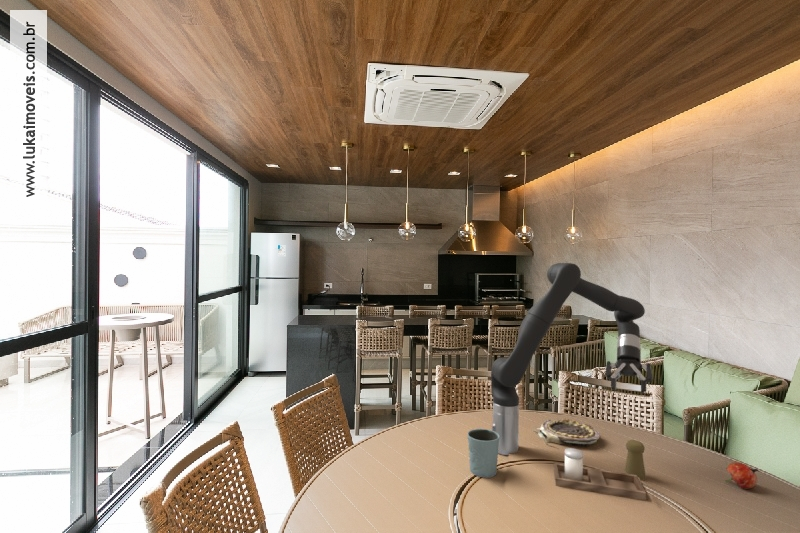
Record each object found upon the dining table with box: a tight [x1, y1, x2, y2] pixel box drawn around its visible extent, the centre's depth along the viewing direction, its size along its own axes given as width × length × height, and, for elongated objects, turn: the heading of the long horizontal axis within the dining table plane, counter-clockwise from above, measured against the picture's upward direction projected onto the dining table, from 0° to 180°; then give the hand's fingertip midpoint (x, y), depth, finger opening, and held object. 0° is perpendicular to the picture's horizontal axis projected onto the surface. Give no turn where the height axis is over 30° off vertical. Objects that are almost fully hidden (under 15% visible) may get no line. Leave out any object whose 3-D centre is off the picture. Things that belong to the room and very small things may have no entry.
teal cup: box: [467, 428, 499, 478], centre depth 132 cm, size 10×10×12 cm
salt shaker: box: [564, 447, 584, 481], centre depth 126 cm, size 5×5×9 cm
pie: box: [533, 418, 601, 450], centre depth 161 cm, size 28×27×5 cm
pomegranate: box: [724, 461, 760, 490], centre depth 126 cm, size 7×7×10 cm
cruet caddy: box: [553, 462, 647, 501], centre depth 124 cm, size 24×11×3 cm, turn 72°
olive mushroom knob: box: [624, 439, 646, 481], centre depth 131 cm, size 6×6×11 cm
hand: (628, 391), depth 140 cm, fingers open, 8 cm apart
